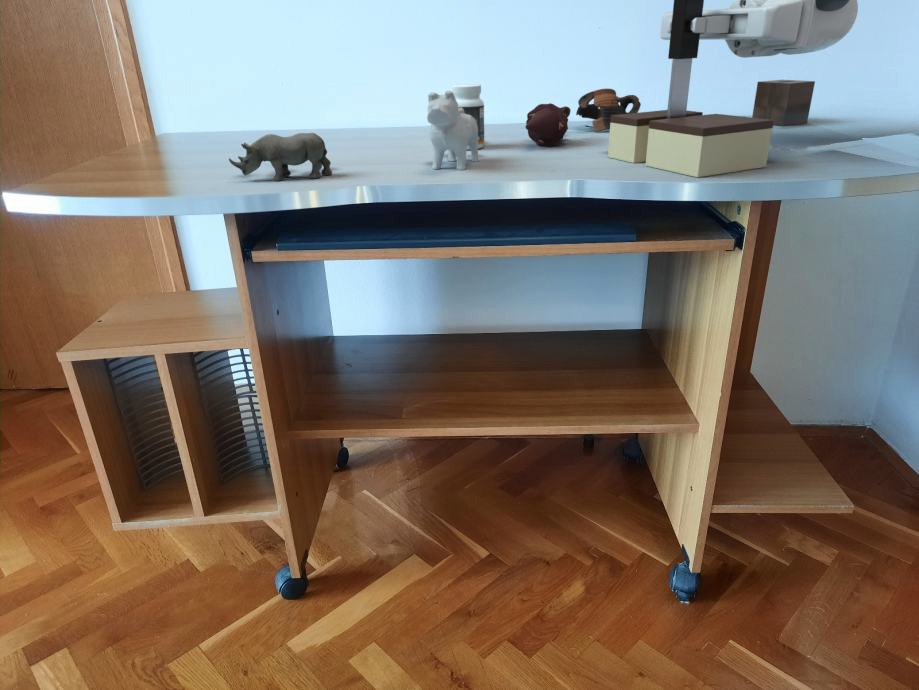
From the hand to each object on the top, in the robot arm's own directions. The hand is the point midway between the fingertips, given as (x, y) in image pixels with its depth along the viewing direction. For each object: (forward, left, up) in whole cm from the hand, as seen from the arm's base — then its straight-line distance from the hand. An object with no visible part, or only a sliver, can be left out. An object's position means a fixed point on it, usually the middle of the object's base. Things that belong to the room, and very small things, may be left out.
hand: (681, 25), depth 85 cm
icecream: (+23, +6, -18) cm, 29 cm away
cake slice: (+4, -1, -17) cm, 18 cm away
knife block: (+13, -37, -17) cm, 43 cm away
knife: (0, -1, -12) cm, 12 cm away
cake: (-6, -1, -17) cm, 19 cm away
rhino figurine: (+21, +51, -18) cm, 58 cm away
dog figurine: (+15, +27, -18) cm, 36 cm away
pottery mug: (+33, -14, -18) cm, 40 cm away
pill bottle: (+29, +18, -18) cm, 38 cm away
